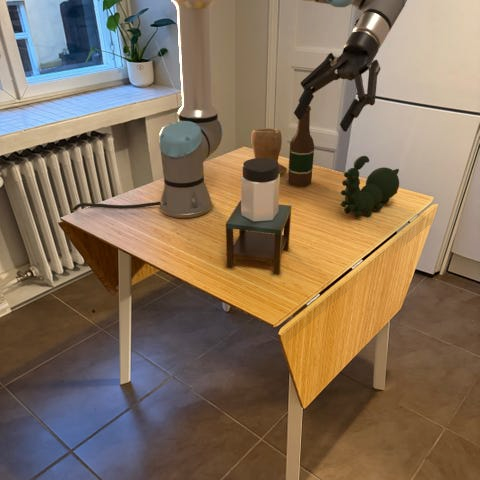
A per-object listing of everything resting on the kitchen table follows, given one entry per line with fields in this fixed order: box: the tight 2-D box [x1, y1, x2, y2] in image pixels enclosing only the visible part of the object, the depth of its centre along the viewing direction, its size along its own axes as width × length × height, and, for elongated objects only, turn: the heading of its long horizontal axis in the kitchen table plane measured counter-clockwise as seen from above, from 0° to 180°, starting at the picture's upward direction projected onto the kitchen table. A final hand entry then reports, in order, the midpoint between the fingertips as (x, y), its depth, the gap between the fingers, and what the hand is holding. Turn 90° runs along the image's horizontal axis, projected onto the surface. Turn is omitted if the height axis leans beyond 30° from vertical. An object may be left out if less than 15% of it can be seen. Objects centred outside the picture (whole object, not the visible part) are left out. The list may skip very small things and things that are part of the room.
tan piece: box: [250, 127, 289, 175], centre depth 157 cm, size 15×12×15 cm
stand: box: [225, 199, 292, 276], centre depth 115 cm, size 13×13×12 cm
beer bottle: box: [287, 105, 315, 188], centre depth 148 cm, size 8×8×24 cm
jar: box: [240, 157, 281, 222], centre depth 108 cm, size 9×8×12 cm
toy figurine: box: [340, 155, 400, 218], centre depth 134 cm, size 9×19×25 cm
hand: (319, 122), depth 111 cm, fingers open, 13 cm apart
